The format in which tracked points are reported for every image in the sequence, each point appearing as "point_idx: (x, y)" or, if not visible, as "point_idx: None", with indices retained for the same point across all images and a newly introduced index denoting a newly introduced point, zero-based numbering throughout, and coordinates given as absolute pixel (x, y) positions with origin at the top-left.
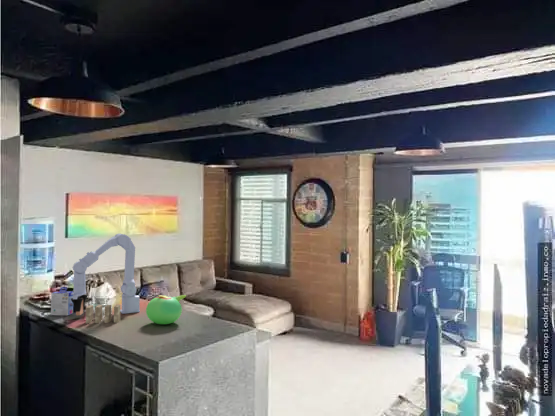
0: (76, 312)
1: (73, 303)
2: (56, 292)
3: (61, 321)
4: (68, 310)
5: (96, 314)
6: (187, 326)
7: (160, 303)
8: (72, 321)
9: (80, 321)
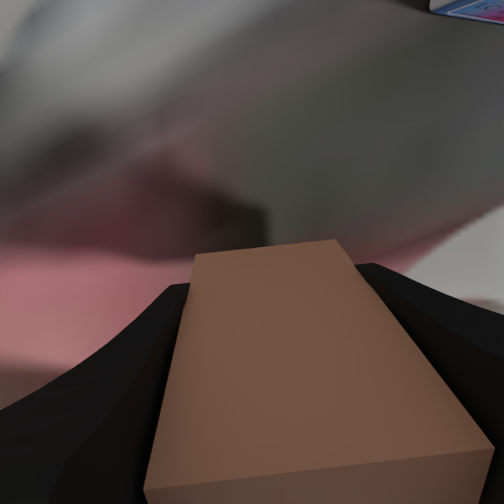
0: (192, 280)
1: (53, 390)
2: None
3: (85, 75)
4: None
5: None
6: None
7: None
8: (109, 230)
9: (122, 314)
